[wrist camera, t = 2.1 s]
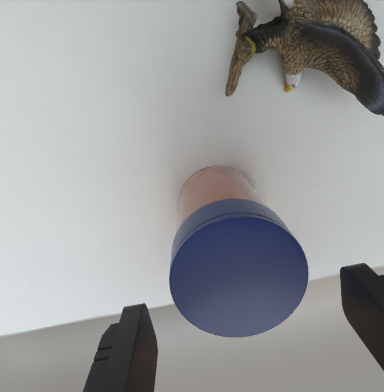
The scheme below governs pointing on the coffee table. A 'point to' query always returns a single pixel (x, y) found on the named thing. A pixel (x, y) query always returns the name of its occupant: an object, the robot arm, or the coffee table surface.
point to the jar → (213, 190)
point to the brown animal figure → (317, 45)
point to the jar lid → (236, 269)
